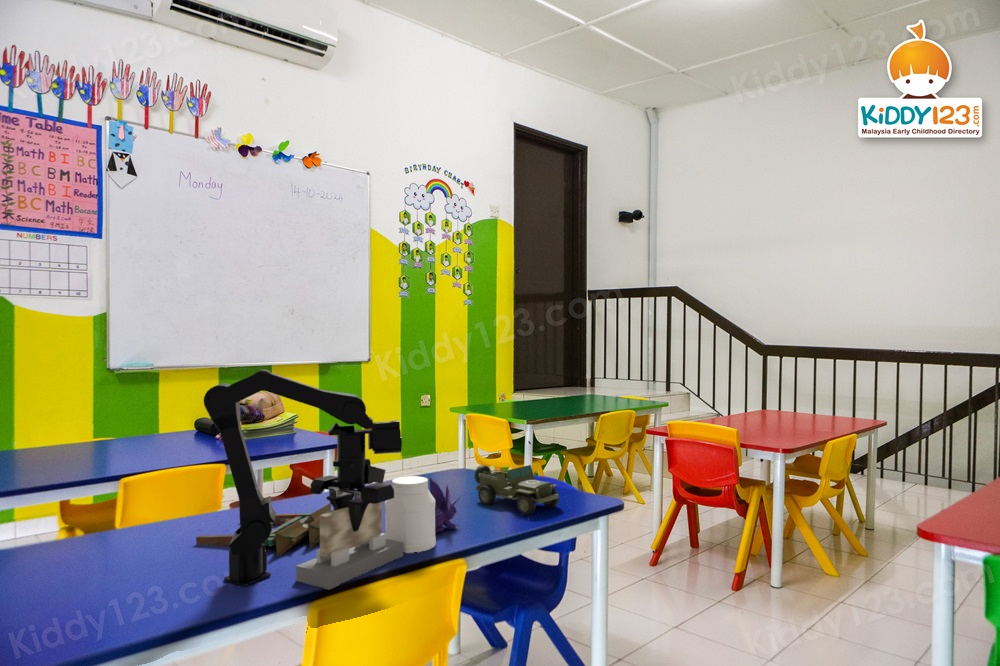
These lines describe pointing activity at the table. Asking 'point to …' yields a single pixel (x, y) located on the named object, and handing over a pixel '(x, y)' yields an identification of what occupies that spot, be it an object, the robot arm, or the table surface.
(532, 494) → the toy jeep
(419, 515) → the jar
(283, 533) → the miniature gate
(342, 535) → the birch door
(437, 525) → the creature
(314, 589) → the table surface
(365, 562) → the hinge plinth
